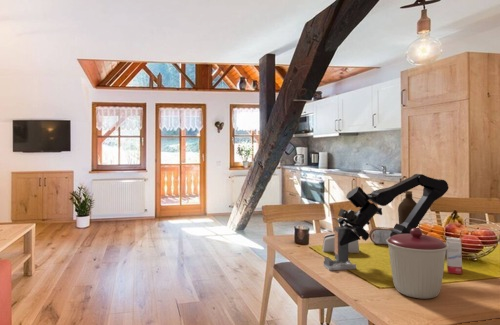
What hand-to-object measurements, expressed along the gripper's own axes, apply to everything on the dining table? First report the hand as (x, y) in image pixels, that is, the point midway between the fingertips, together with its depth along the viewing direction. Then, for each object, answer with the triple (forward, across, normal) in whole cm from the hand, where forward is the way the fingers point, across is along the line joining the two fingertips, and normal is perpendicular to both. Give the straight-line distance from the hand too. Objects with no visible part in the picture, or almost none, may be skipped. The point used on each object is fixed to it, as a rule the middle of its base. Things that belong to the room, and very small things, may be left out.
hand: (338, 243), depth 136 cm
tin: (-19, -28, +32) cm, 47 cm away
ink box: (-23, +11, +36) cm, 44 cm away
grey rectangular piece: (+6, 0, +7) cm, 9 cm away
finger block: (+4, 0, +6) cm, 7 cm away
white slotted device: (0, -21, +14) cm, 25 cm away
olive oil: (-32, -38, +46) cm, 67 cm away
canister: (-4, +28, +18) cm, 33 cm away
